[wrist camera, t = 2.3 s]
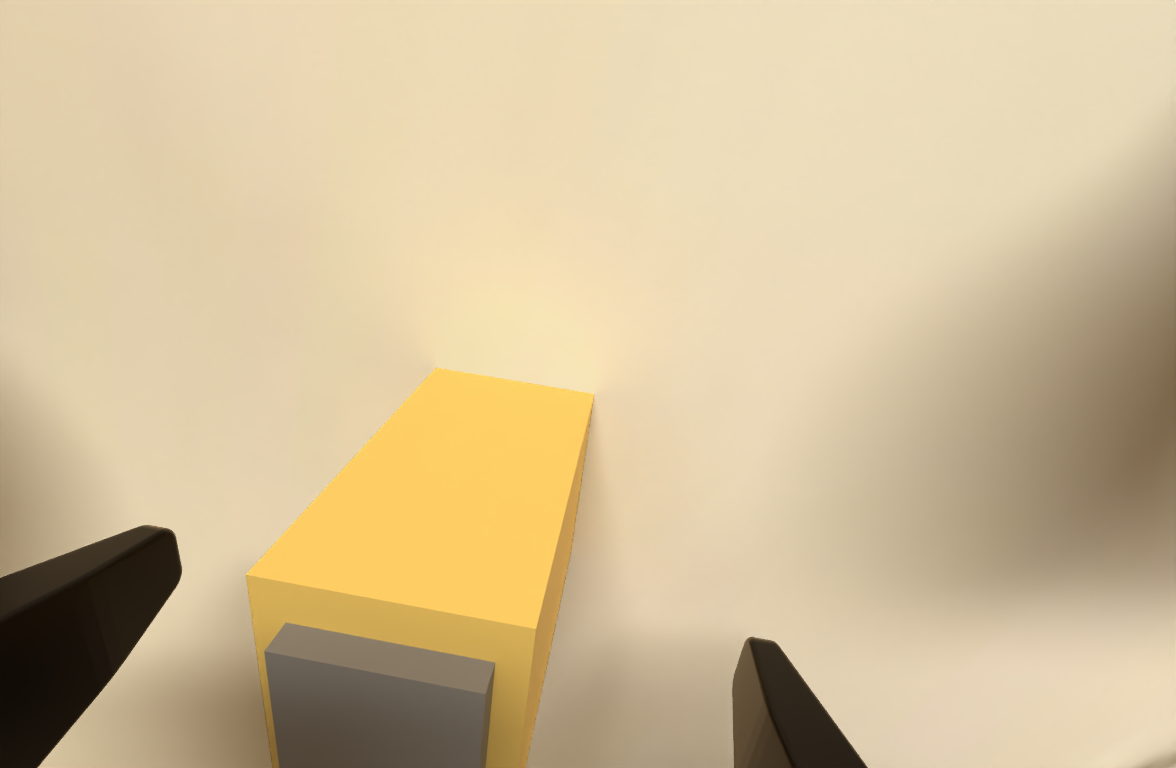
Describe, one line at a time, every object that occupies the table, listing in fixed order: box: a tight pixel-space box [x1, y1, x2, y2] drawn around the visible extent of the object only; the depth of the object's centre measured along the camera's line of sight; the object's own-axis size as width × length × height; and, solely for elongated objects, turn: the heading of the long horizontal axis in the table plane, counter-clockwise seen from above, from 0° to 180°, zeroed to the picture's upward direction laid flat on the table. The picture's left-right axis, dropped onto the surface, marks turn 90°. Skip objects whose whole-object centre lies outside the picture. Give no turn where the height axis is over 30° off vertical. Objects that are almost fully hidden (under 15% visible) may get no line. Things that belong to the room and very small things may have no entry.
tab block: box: [246, 368, 594, 768], centre depth 10 cm, size 4×3×6 cm
